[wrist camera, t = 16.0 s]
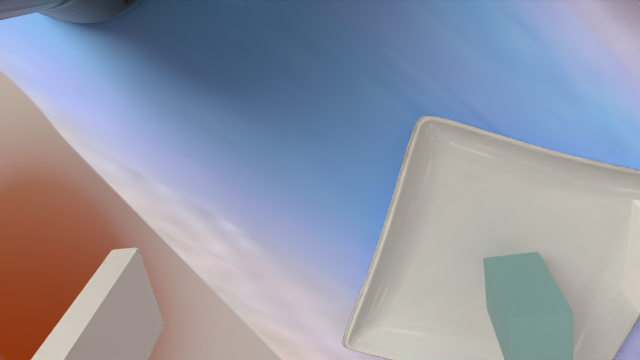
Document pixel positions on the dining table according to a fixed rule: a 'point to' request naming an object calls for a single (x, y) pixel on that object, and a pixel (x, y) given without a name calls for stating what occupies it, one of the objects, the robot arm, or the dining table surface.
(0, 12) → the robot arm
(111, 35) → the dining table surface
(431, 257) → the square plate
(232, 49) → the dining table surface
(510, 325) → the teal block
